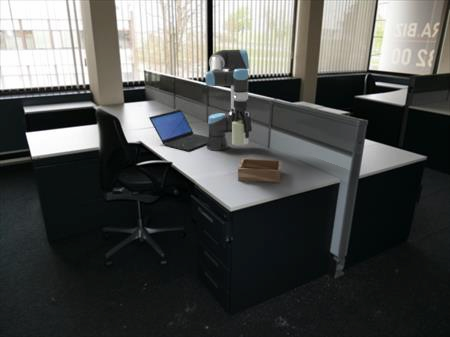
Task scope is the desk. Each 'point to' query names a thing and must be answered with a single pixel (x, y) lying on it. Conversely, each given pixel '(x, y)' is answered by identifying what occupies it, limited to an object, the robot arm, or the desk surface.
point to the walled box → (259, 170)
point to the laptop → (177, 131)
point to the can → (238, 133)
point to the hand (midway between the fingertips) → (240, 141)
